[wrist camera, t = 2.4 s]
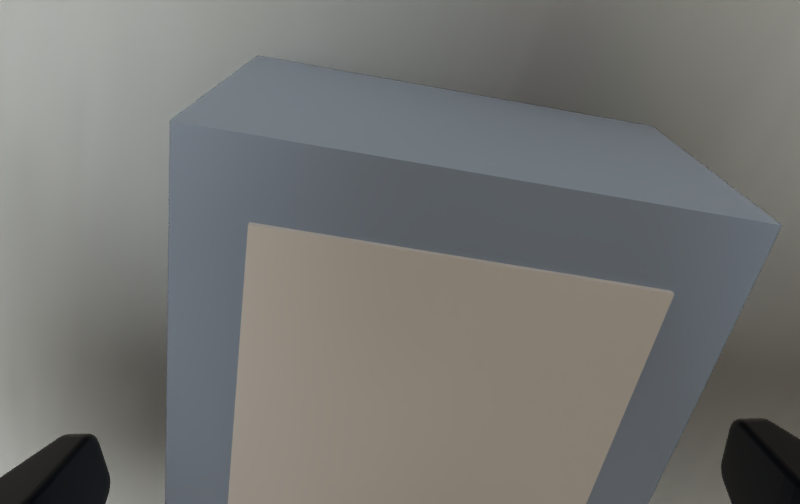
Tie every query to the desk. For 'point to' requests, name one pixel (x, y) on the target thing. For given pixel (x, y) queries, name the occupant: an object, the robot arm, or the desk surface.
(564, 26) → the desk surface
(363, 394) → the card deck
